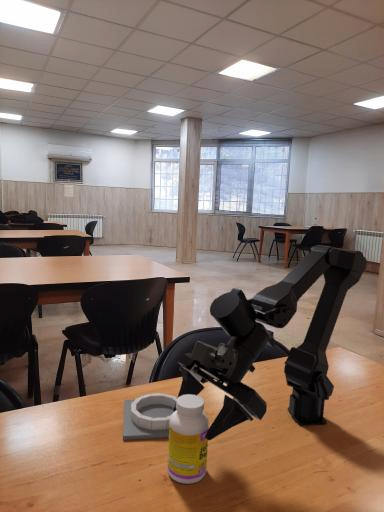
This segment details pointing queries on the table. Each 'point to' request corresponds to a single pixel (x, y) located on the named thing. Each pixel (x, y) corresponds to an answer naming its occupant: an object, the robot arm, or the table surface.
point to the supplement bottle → (188, 440)
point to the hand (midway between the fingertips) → (189, 425)
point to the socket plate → (148, 416)
